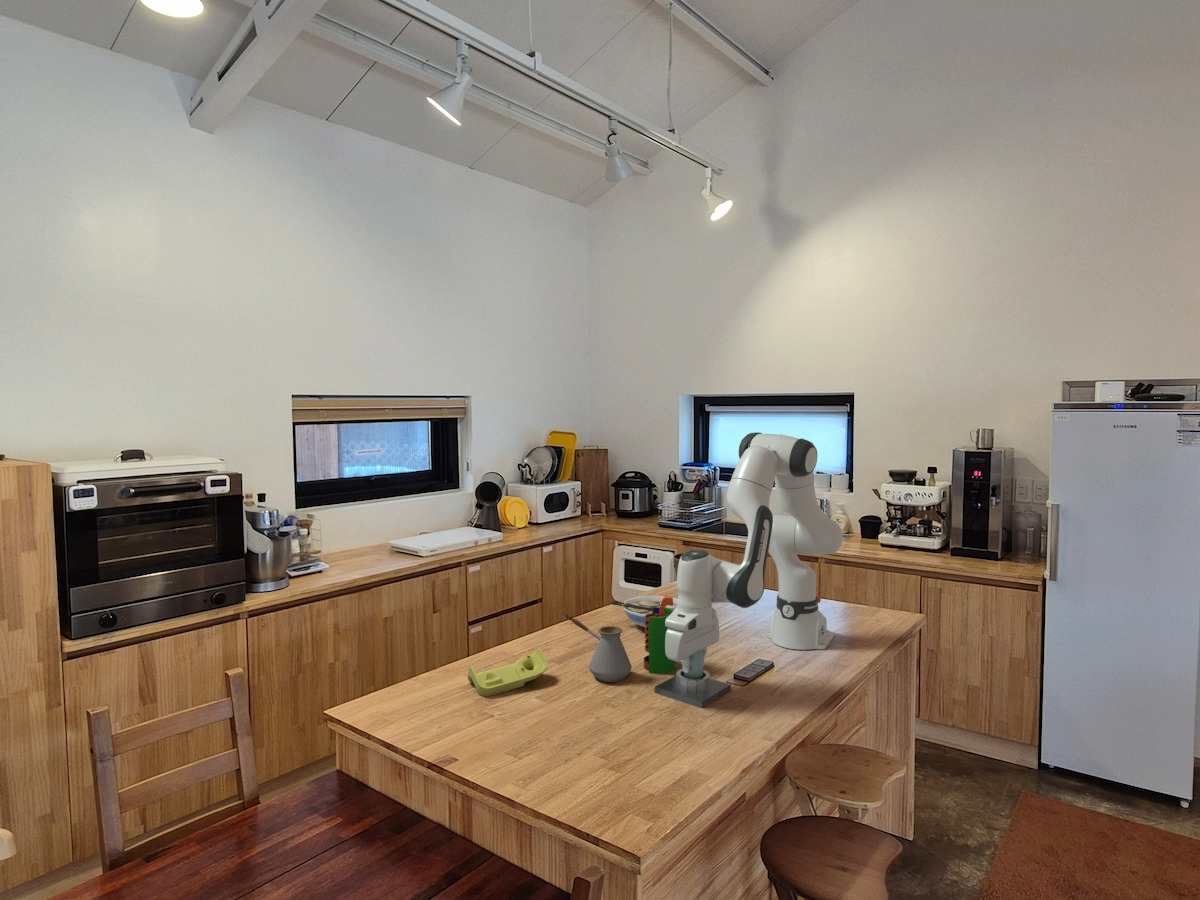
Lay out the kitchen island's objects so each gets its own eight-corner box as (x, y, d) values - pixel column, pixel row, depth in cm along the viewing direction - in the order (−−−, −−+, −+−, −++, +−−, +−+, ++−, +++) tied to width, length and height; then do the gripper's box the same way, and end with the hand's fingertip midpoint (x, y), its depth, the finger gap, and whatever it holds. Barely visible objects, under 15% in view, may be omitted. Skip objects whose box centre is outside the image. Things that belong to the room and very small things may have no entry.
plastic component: (481, 690, 177) (468, 662, 184) (479, 711, 180) (466, 682, 188) (553, 670, 187) (538, 643, 194) (550, 690, 190) (534, 663, 197)
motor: (641, 661, 204) (641, 592, 202) (672, 660, 204) (673, 591, 203) (646, 674, 194) (647, 602, 192) (679, 673, 194) (680, 601, 193)
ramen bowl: (706, 624, 237) (706, 600, 236) (675, 644, 218) (675, 618, 217) (640, 612, 250) (640, 589, 250) (605, 629, 231) (605, 605, 230)
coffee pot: (639, 674, 194) (639, 620, 193) (617, 688, 184) (618, 631, 183) (573, 658, 205) (573, 607, 204) (550, 671, 195) (550, 617, 194)
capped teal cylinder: (690, 674, 186) (691, 639, 185) (706, 679, 183) (707, 643, 182) (680, 680, 182) (680, 644, 182) (696, 685, 179) (696, 648, 178)
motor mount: (684, 676, 193) (685, 660, 192) (730, 690, 184) (731, 673, 183) (654, 692, 182) (654, 675, 182) (701, 707, 173) (701, 689, 173)
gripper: (705, 603, 191) (704, 654, 192) (660, 621, 176) (660, 676, 177) (725, 608, 187) (724, 659, 188) (682, 627, 172) (681, 683, 173)
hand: (693, 668), depth 182 cm, fingers closed on capped teal cylinder, 5 cm apart
